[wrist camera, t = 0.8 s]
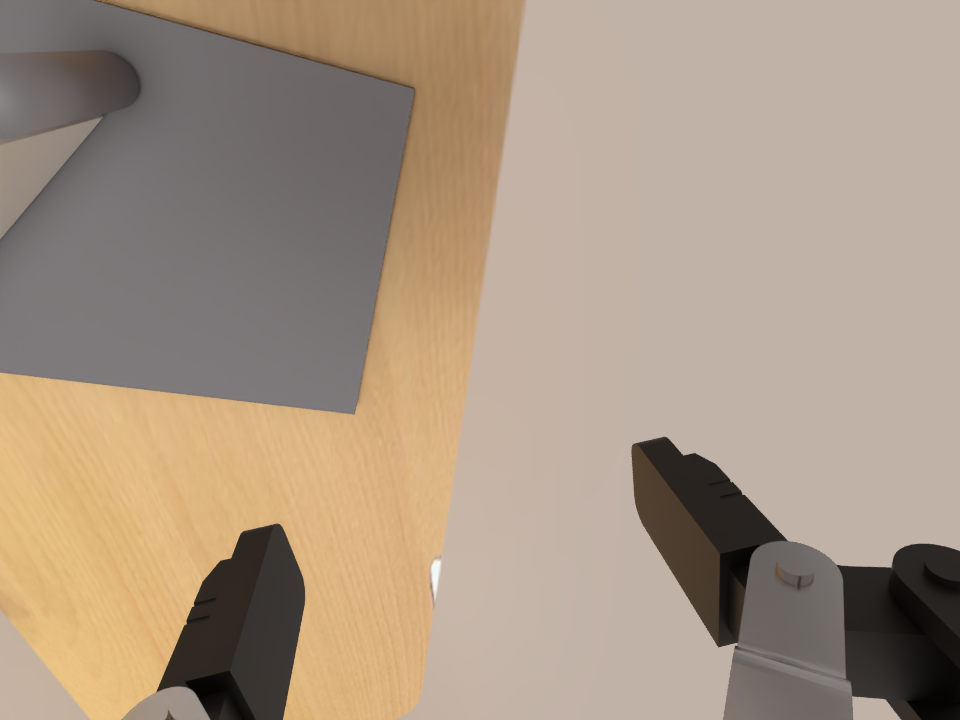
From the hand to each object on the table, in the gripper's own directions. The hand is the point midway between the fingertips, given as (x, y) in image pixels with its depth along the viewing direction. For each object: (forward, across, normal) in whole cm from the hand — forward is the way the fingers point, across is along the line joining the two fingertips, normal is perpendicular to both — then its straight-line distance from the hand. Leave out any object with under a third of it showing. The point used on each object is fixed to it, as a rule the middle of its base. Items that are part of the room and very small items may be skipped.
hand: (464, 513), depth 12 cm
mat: (+22, +14, -6) cm, 27 cm away
